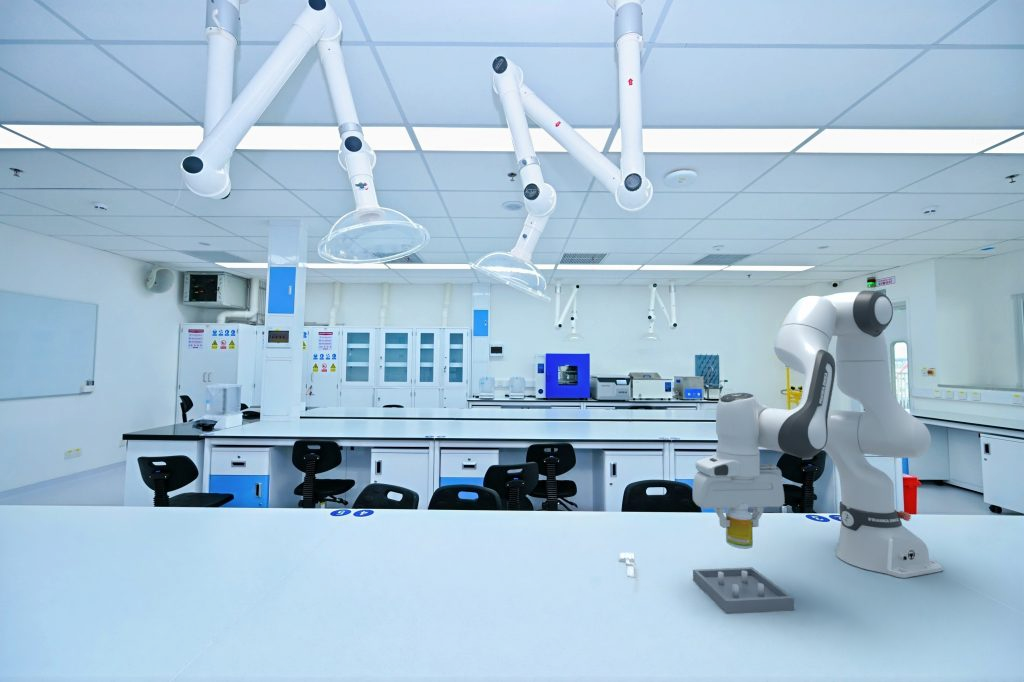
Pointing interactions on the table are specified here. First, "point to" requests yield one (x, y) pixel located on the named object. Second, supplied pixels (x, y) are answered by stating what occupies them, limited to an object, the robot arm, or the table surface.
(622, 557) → the syringe
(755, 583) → the pin tray
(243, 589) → the table surface
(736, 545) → the supplement bottle
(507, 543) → the table surface
